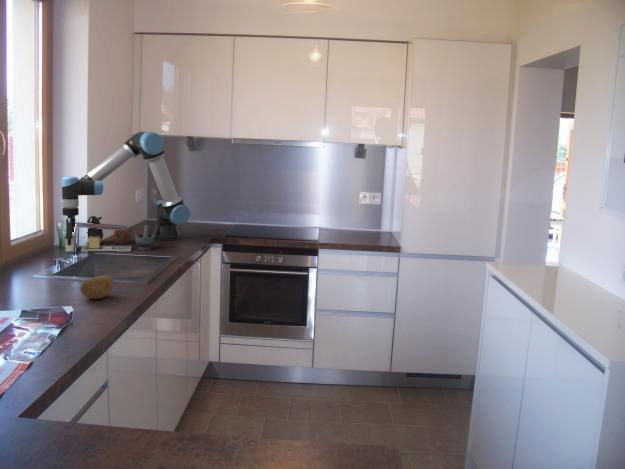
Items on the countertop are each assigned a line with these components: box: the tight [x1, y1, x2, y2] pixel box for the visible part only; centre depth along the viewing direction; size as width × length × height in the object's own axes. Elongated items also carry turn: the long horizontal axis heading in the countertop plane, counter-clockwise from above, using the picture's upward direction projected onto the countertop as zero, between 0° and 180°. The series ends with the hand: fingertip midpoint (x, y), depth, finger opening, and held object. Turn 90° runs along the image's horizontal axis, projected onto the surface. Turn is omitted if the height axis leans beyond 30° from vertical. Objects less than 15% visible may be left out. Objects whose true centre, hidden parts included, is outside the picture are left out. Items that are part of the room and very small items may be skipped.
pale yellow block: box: [88, 236, 101, 249], centre depth 286 cm, size 5×5×7 cm
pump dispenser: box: [86, 215, 104, 243], centre depth 303 cm, size 10×10×15 cm
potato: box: [80, 274, 114, 300], centre depth 202 cm, size 10×14×8 cm
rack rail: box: [80, 245, 132, 253], centre depth 289 cm, size 24×9×1 cm, turn 106°
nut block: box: [64, 236, 75, 252], centre depth 283 cm, size 5×5×7 cm
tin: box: [113, 227, 133, 245], centre depth 311 cm, size 15×3×8 cm, turn 168°
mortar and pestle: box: [134, 225, 155, 251], centre depth 296 cm, size 11×9×12 cm
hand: (71, 248), depth 284 cm, fingers open, 13 cm apart
